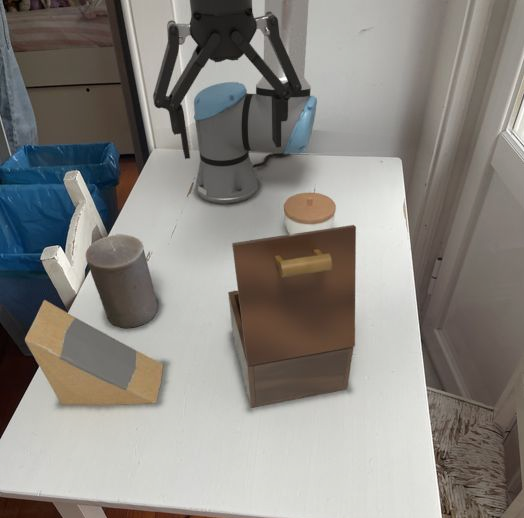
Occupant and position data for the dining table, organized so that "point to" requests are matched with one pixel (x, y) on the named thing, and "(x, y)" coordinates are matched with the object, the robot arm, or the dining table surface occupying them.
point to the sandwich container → (90, 362)
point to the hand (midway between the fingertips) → (232, 149)
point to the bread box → (289, 370)
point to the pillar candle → (122, 280)
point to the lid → (297, 293)
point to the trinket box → (308, 212)
